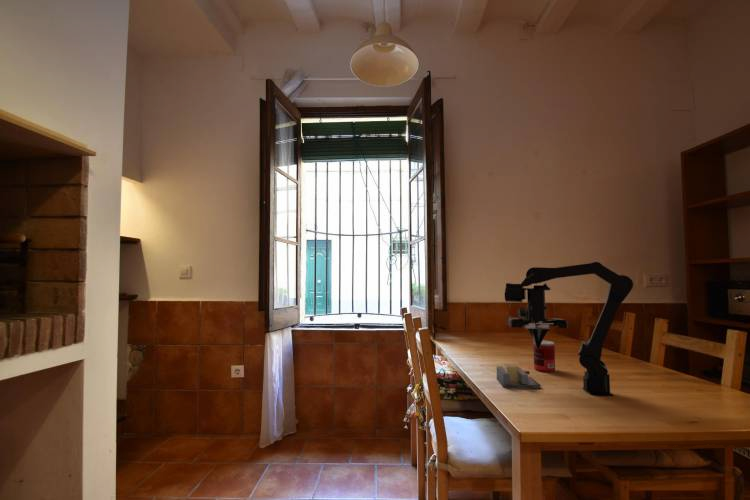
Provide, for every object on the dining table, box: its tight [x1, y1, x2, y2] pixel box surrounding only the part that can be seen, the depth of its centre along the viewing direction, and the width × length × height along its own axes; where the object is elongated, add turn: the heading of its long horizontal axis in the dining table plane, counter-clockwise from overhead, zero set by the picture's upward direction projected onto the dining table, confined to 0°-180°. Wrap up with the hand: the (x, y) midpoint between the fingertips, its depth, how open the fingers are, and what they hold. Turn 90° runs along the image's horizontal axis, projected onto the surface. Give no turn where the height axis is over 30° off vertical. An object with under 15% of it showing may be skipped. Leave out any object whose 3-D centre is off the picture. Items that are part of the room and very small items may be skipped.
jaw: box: [518, 366, 531, 384], centre depth 126 cm, size 5×10×3 cm, turn 174°
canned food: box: [532, 340, 556, 373], centre depth 145 cm, size 8×8×11 cm
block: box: [503, 363, 519, 382], centre depth 127 cm, size 4×4×5 cm
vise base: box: [496, 365, 541, 390], centre depth 127 cm, size 12×10×5 cm
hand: (537, 347), depth 127 cm, fingers closed
